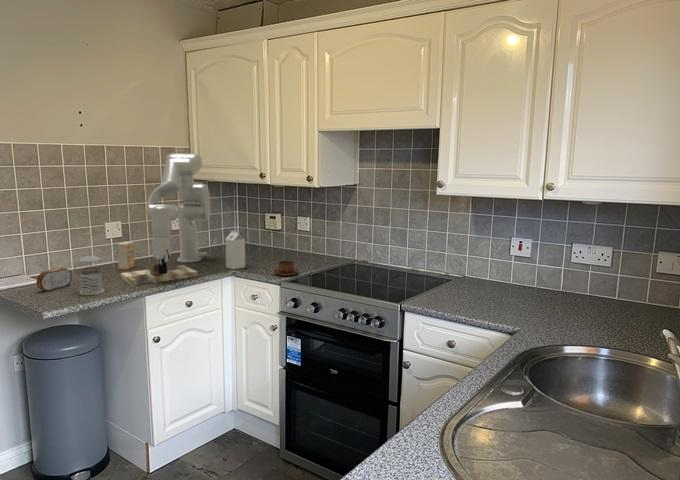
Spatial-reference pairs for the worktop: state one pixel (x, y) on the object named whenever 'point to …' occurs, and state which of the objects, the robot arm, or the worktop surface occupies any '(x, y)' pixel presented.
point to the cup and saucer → (285, 268)
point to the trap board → (157, 276)
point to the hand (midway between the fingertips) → (163, 273)
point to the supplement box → (126, 255)
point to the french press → (90, 276)
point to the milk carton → (235, 251)
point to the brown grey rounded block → (54, 279)
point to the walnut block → (154, 269)
